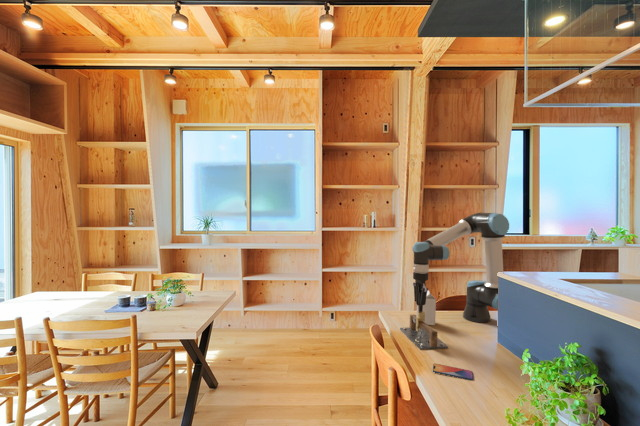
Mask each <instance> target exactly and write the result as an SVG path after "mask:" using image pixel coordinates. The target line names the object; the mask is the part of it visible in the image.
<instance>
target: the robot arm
mask: <svg viewBox="0 0 640 426" xmlns="http://www.w3.org/2000/svg"><path fill="white" fill-rule="evenodd" d="M509 231H510V221H509V219H508V218H507V216H505V215H504V214H502V213H498V212H477V213H476V212H475V213H474V214H471V215H468V216H466V217H464V218H462V219H460V220H459V221H458V223H455V225H453V226H451V227H449V228H447V229H444V230H443V231H441V232H439V233H437V234H436V235H434V236H431V237H430V238H428V239H426V240H424V241H416V242H414V244H413V246H412V251H413V265H412V269H413V272H412V274H413V275H412V278H413V280H415V281H414V282H413V283H412V286H413V292H414V293H413V294H414V295H413V296H414V302H415V304H416V314H415V315H416V317H418V312H423V305H425V303H426V296H427V291H428V290H429V288H428V287H427V286H426V285H427V284H426V282H427V281H428V280H429V269H430V268H429V264H430V261H443V260H444V261H445V260H448V259H449V258H450V249H449V248H448V247H447V245H448V244H451V243H453V242H454V241H456V240H458V239H460V238H462V237H464V236H468V235H469V236H470V235H471V234H474V233H475V234H476V233H479V234H481V235H480V237H481V238H482V239H483V240H484V254H485V256H484V257H485V272H486V280H480V279H479V280H477V279H476V280H468V282H467V284H466V305H465V307H464V310H463V313H462V317H463V318H464V319H465V320H467V321H469V322H470V321H471V322H474V323H480V324H482V323H489V322H491V314H490V311H489V308H488V307H490V308H492V309H495V310H498V276H497V273H498V272H503V273H504V257H503V241H502V240H504V238H505V236H506V234H508V232H509Z"/></svg>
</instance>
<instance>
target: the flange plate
mask: <svg viewBox="0 0 640 426" xmlns="http://www.w3.org/2000/svg"><path fill="white" fill-rule="evenodd" d="M399 330H400V331H401V332H402V334H404V335H405V337H407V338H408V339H409V340H410V341H411V342H412V343H413V344H414V345H415V346H416V347H417V348H418V349H419V350H439V349H441V350H442V349H448V348H449V346H448V345H447V344H446V343H444V342H443V340H441V339H440V338H439V337H437V347H431V346H430V345H429V333H428V332H427V331H425V330H424V329H423V328H422V334H420V328H419V332H417V331H416V329H411V328H410V326H408V327H406V326H405V327H400V328H399Z"/></svg>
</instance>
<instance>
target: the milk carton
mask: <svg viewBox="0 0 640 426" xmlns="http://www.w3.org/2000/svg"><path fill="white" fill-rule="evenodd" d="M436 305H437V299H436V298H435V296H434V295H432V293H431V292H430V290H429V289H428V291H427V296H426V303H425V305H423V312H425V321H423V322H424V323H426V324H427V325H428V326H436V312H437V311H436V309H437V306H436Z"/></svg>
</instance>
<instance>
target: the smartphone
mask: <svg viewBox="0 0 640 426" xmlns="http://www.w3.org/2000/svg"><path fill="white" fill-rule="evenodd" d="M433 372H435V373H434V374H436V373H440V374H439V375H441V374H445V375H444V376H447V375H450V376H449V377H452V376H454V377H453V378H457V377H458V379H462V378H463V379H462V380H469V381H473V380H474V374H473V371H472V370H469V369H465V368H459V367H454V366H449V365H444V364H440V363H433V366H432V373H433Z"/></svg>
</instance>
